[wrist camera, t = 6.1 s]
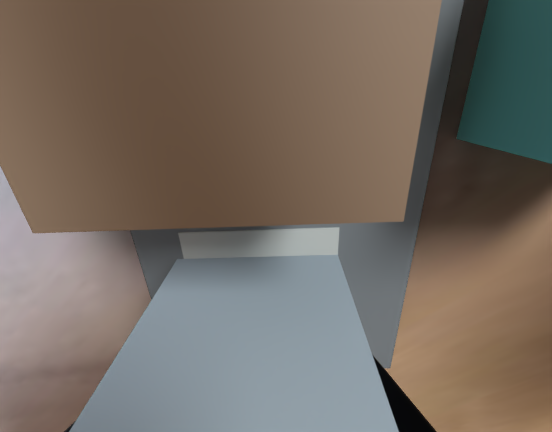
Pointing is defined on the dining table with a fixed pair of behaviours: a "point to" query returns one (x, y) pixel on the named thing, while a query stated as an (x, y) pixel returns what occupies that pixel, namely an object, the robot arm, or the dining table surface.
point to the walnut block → (211, 111)
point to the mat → (334, 226)
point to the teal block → (512, 81)
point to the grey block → (245, 354)
